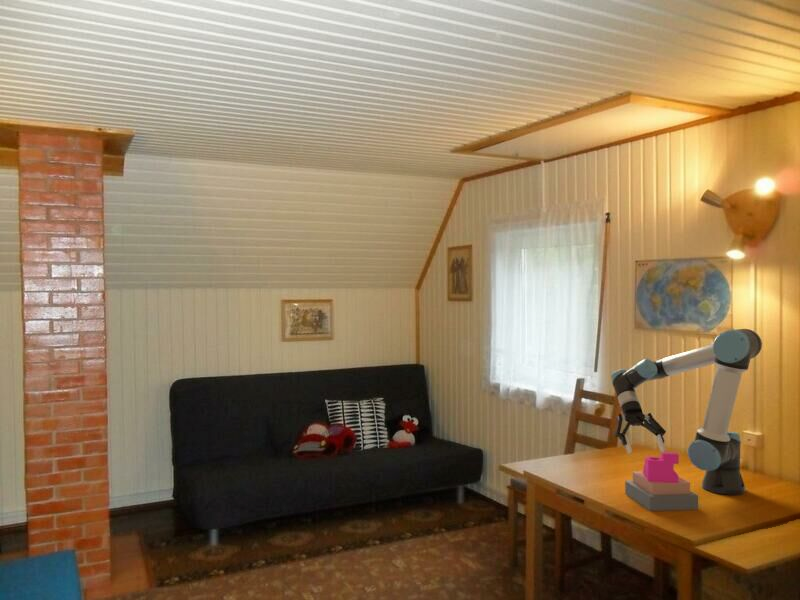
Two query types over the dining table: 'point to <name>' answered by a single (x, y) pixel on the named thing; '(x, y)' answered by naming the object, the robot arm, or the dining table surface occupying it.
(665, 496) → the two-tone base plate
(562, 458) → the dining table surface
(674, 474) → the bracket
